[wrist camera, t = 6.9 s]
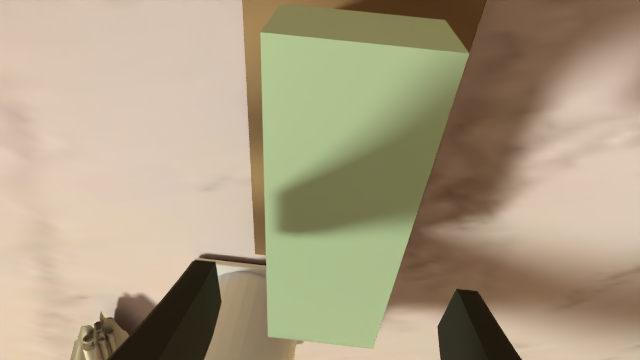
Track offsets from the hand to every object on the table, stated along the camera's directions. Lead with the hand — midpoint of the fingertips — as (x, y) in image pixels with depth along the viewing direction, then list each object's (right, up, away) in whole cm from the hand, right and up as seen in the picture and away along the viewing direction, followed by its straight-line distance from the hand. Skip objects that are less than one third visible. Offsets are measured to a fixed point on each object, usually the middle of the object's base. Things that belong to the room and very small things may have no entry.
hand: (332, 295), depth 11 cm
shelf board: (0, +3, +4) cm, 5 cm away
